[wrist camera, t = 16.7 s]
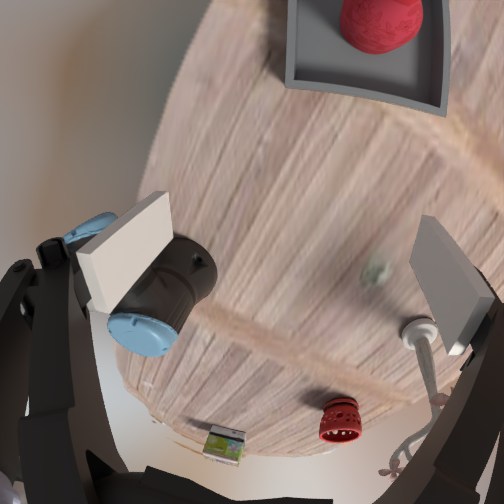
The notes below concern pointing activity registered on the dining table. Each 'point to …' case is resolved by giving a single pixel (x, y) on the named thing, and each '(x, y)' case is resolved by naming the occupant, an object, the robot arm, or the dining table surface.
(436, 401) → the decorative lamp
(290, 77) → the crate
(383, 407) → the dining table surface
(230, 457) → the tea box
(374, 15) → the wine bottle
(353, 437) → the plant pot
